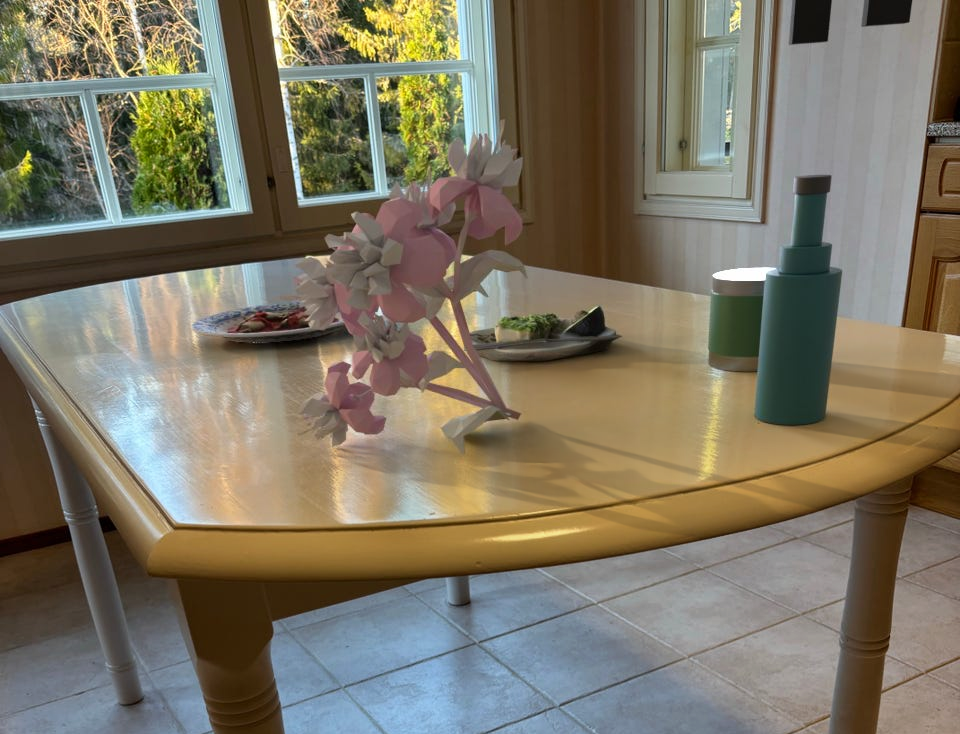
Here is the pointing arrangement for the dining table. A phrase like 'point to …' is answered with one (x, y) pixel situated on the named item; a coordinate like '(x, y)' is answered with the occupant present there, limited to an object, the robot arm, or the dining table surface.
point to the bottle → (799, 316)
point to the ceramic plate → (263, 324)
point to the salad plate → (544, 337)
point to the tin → (736, 319)
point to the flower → (411, 292)
